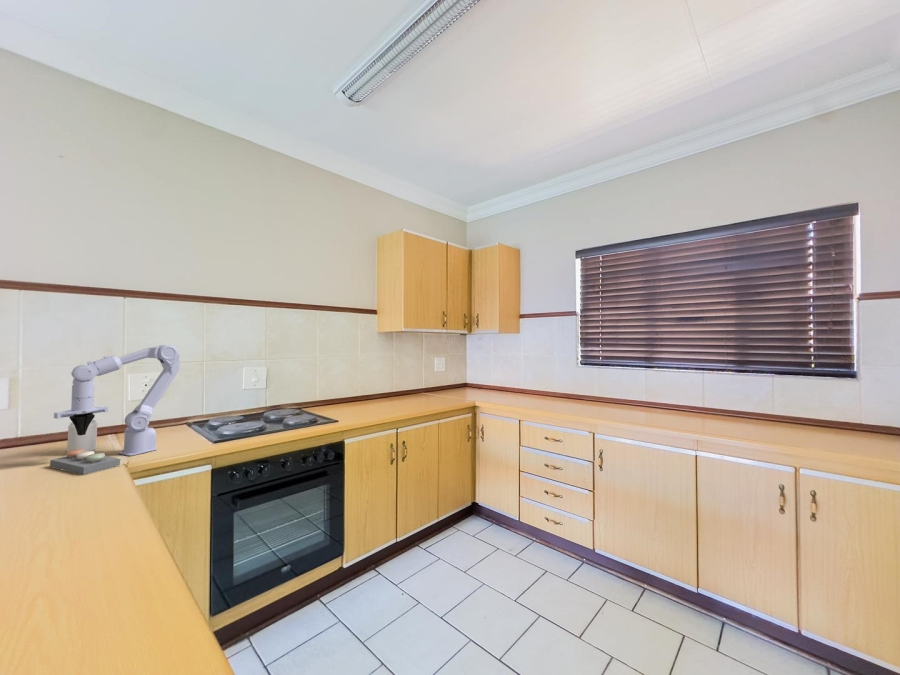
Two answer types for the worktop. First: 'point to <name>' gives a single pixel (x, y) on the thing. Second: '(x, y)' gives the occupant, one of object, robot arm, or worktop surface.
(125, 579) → the worktop surface
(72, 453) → the terracotta button
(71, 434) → the translucent white cylinder
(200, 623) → the worktop surface
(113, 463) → the button panel
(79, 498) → the worktop surface
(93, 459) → the sage button
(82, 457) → the cream button
